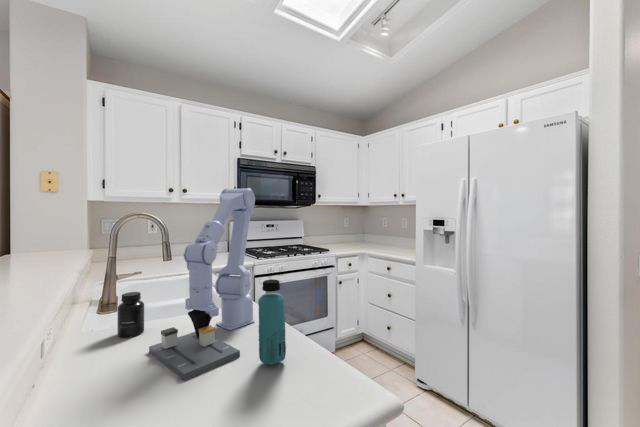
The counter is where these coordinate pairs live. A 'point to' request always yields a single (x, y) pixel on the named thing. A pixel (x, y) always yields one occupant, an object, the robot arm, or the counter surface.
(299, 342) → the counter surface
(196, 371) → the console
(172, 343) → the fader black
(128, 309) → the supplement bottle
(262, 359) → the beverage bottle
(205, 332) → the fader orange
